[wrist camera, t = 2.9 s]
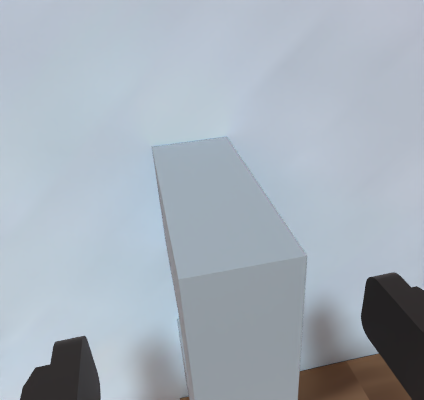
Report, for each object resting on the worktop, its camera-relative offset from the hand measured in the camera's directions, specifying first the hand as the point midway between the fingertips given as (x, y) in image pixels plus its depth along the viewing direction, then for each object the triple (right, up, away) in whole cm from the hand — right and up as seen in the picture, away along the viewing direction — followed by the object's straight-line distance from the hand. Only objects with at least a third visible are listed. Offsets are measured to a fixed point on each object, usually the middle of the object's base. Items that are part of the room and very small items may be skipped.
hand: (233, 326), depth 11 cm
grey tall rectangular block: (-1, 0, +8) cm, 8 cm away
